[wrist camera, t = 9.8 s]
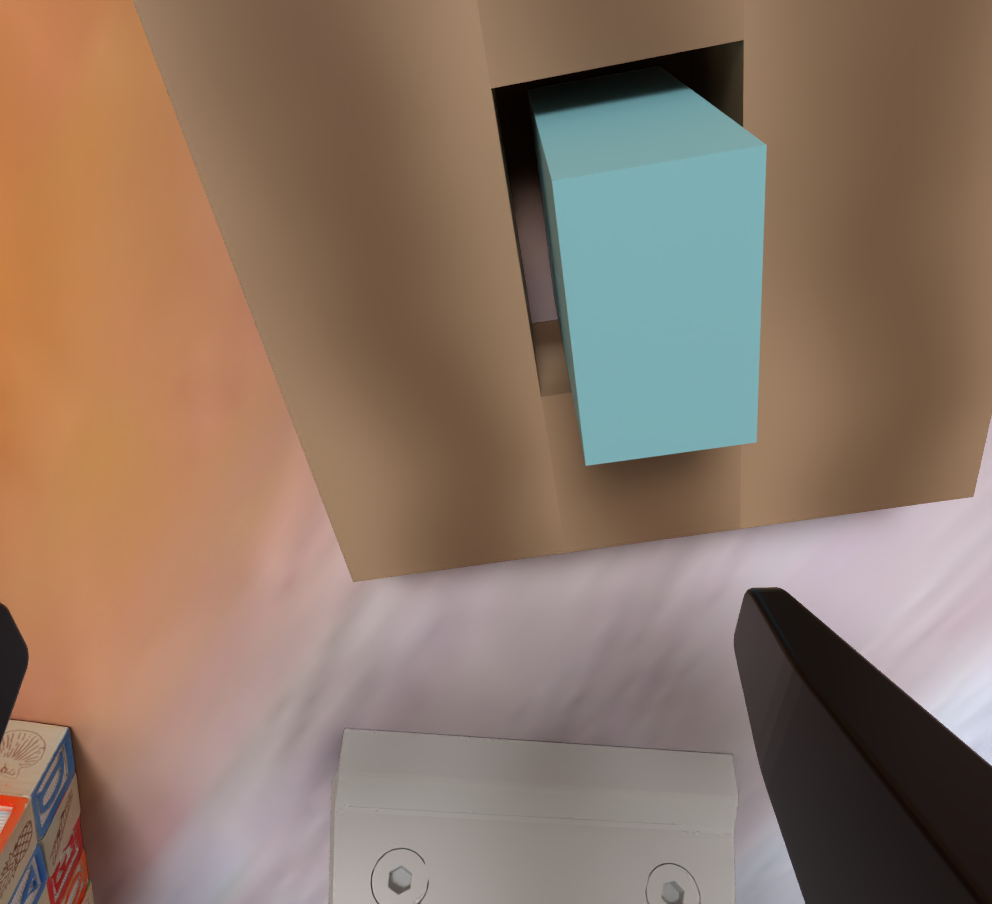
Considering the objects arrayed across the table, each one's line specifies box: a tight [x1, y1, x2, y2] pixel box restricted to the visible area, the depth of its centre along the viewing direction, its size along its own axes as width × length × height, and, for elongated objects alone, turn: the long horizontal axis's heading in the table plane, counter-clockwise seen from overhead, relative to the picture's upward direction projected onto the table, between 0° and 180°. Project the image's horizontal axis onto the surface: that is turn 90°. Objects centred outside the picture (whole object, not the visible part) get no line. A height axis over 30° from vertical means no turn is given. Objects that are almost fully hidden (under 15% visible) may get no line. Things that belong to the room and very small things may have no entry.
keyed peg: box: [528, 66, 767, 466], centre depth 15 cm, size 3×5×8 cm, turn 9°
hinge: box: [329, 728, 738, 904], centre depth 30 cm, size 17×5×10 cm, turn 83°
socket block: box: [133, 0, 992, 582], centre depth 17 cm, size 16×16×4 cm
